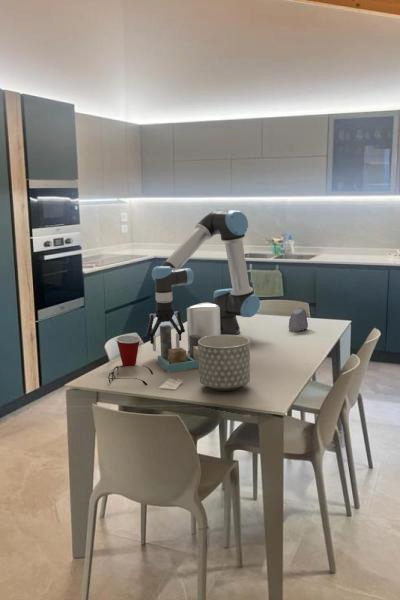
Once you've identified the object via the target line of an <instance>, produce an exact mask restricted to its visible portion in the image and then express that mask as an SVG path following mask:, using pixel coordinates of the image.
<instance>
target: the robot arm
mask: <svg viewBox="0 0 400 600" xmlns="http://www.w3.org/2000/svg"><path fill="white" fill-rule="evenodd" d="M194 226H195V227H194V230H193V231H192V232H191V233H190V234H189V235H188V236H187V237H186V239H184V241H183V242H182V243H181V244H180V245H179V246H178V247H177V248H176V249H175V250H174V251H173V253H171V255H170V256H169V257H168V258H167V259H166V260H165V261H164V262H163V264H161V265H156V266H154V267H153V268H152V270H151V278H152V280H153V281H154V286H155V287H154V288H155V301H156V302H155V309H156V311H155V313H150V314H149V315H148V316H149V321H148V323H147V328H146V331H145V336H147V337H149V341H150V345H152V351H153V352H157V346H156V345H157V344H156V336H155V334H156V333H157V330H158V329H159V328H160V326H161V324H162V323H165V322H167V323H169V322H170V324H171V325H172V327H173V328H174V329H175V332H176V333H175V345H176V346H175V348H181V347H180V341H182V334H184V333H185V332H186V329H185V327H184V326H185V325H184V324H183V321H182V318H181V312H180V311H178V310H177V311H174V302H173V299H174V298H173V287H179V286H187V285H190V284H192V283H193V282H194V280H195V275H194V274H195V273H194V271H193V270H192V268H189V267H183V266H184V265H185V264H186V263H187V262H188V261H189V260H190V258H191V257H192V256H193V255H195V253H196V252H197V251H198V250H199V249H200V248H201V246H202V245H203V244H204V243H205V242H206V241H208V240H210V239H212V238H213V236H215V235H220V240H221V241H222V242H224V245H225V251H226V252H225V253H226V257H227V263H228V264H227V265H228V271H229V275H230V276H229V277H230V282H231V287H232V288H231V287H230V288H223V289H217V290H214V292H213V298H212V299H213V304H216V305H218V306H219V307H220V332H221V335H238V334H240V332H241V329H240V328H241V327H240V324H239V322H238V319H237V316H238V317H241V318H253V317H254V316H255V315H257V313H258V311H259V310H260V307H261V301H260V298H259V297H258V296H257V295H256V294H254V288H253V287H252V286H250V281H249V275H248V269H247V267H248V266H247V261H246V254H245V249H244V243H243V240H244V238H245V236H246V233H247V230H248V227H249V222H248V219H247V216H246V215H245V213H243V212H242V211H240V210H235V209H225V210H223V209H222V210H221V209H218V210H217V209H216V210H213V211H211V212H210V213H208V214H207V215H206V216H204V217H203V218H202V219H201V220H200V221H198V222H197V223H196V225H194ZM182 267H183V268H182ZM173 316H175V317H176V321H177V323H178V325H177V324H176V322H175V320H174V319H173ZM156 318H157V319H156ZM154 319H156V322H155V324H154ZM153 324H154V325H153Z"/></svg>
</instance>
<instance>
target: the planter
mask: <svg viewBox="0 0 400 600" xmlns="http://www.w3.org/2000/svg"><path fill="white" fill-rule="evenodd" d="M250 342H251V341H250V339H249V338H248V337H245V336H241V335H238V334H235V335H213V336H208V337H204V338H201V339H200V340H199V341H198V353H199V368H198V377H199V378H198V381H199V383H200V384H201V385H203V386H205V387H208V388H210V389H212V390H215V391H217V392H218V391H219V392H228V391H235V390H236V389H237V390H238V389H239V388H240V387H243V386H245V385H247V384H248V383H250V381H251V363H250V361H251V355H250V353H251V351H250V348H251V347H250V346H251V345H250Z"/></svg>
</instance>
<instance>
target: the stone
mask: <svg viewBox="0 0 400 600" xmlns="http://www.w3.org/2000/svg"><path fill="white" fill-rule="evenodd" d="M307 318H308V317H307V311H306V310H305V309H304V308H296V309H293V311H292V312H291V314H290V318H289V321H288V329H289V330H290V331H292V330H294V331H293V332H302V331H305V330H307V329H308V327H309V324H308V319H307ZM304 329H305V330H304ZM301 330H302V331H301Z"/></svg>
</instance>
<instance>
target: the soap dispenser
mask: <svg viewBox="0 0 400 600" xmlns="http://www.w3.org/2000/svg"><path fill="white" fill-rule="evenodd" d="M186 324H187V325H186V327H187V350H188V351H189V352H190V346H189V335H197V334H198V335H199V336H201V338H204V337H208V336H213V335H221V332H220V307H219V306H218V305H216V304H214V303H211V302H201V303H197V304H194V305H190V306H189V307H187V308H186Z"/></svg>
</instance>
